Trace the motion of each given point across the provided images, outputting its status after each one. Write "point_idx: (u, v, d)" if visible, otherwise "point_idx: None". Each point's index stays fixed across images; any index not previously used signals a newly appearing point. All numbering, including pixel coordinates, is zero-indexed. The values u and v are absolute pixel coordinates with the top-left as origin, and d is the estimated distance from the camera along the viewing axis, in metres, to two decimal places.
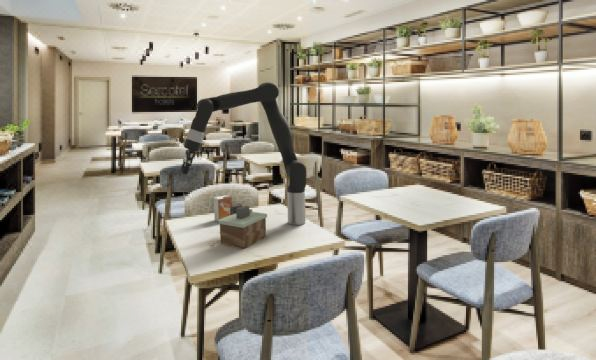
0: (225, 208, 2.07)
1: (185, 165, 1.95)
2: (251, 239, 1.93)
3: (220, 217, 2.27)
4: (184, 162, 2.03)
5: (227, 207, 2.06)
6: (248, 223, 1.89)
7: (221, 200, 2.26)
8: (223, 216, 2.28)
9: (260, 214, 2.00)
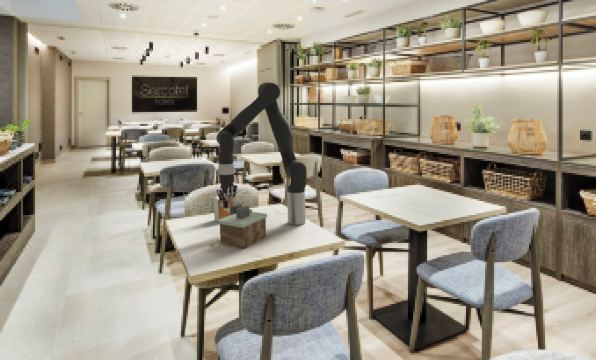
0: (225, 208, 2.07)
1: (222, 200, 2.05)
2: (251, 239, 1.93)
3: (220, 217, 2.27)
4: None
5: None
6: (248, 223, 1.89)
7: (221, 200, 2.26)
8: (223, 216, 2.28)
9: (260, 214, 2.00)
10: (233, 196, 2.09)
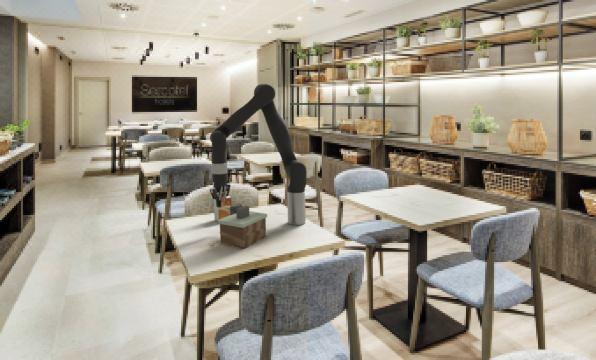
0: (218, 207, 2.09)
1: (216, 199, 2.07)
2: (251, 239, 1.93)
3: (220, 217, 2.27)
4: None
5: None
6: (248, 223, 1.89)
7: None
8: (223, 216, 2.28)
9: (260, 214, 2.00)
10: (226, 195, 2.11)
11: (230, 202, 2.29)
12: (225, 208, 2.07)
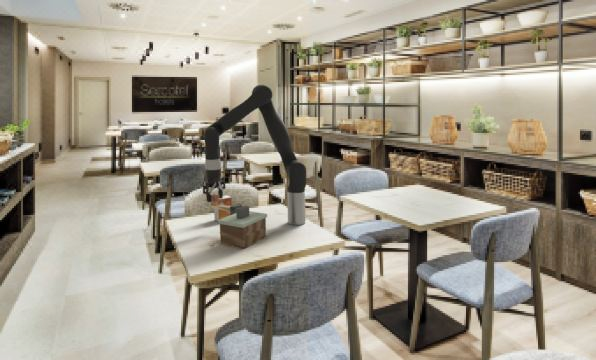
0: (212, 206, 2.11)
1: (206, 194, 2.06)
2: (251, 239, 1.93)
3: (220, 217, 2.27)
4: (219, 189, 2.14)
5: (214, 205, 2.10)
6: (248, 223, 1.89)
7: (221, 200, 2.26)
8: (223, 216, 2.28)
9: (260, 214, 2.00)
10: (223, 188, 2.15)
11: (230, 202, 2.29)
12: (219, 207, 2.09)
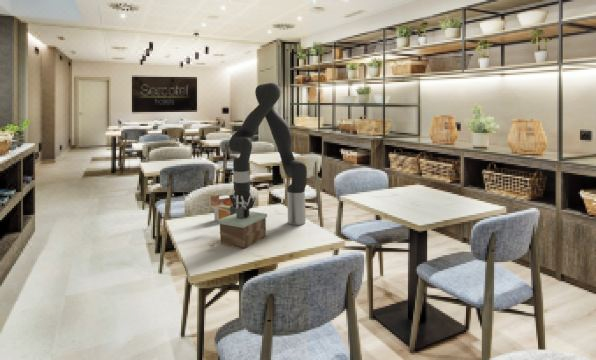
0: (212, 206, 2.11)
1: (245, 209, 1.94)
2: (251, 239, 1.93)
3: (220, 217, 2.27)
4: None
5: (214, 205, 2.10)
6: (248, 223, 1.89)
7: (221, 200, 2.26)
8: (223, 216, 2.28)
9: (260, 214, 2.00)
10: None
11: (230, 202, 2.29)
12: (219, 207, 2.09)
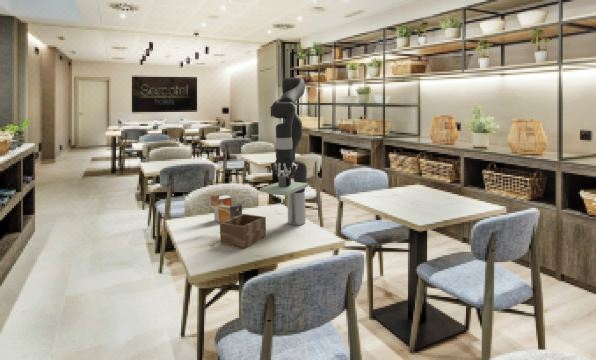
0: (212, 206, 2.11)
1: (288, 177, 1.89)
2: (251, 239, 1.93)
3: (220, 217, 2.27)
4: None
5: (214, 205, 2.10)
6: (292, 191, 1.84)
7: (221, 200, 2.26)
8: (223, 216, 2.28)
9: (301, 183, 1.96)
10: None
11: (230, 202, 2.29)
12: (219, 207, 2.09)
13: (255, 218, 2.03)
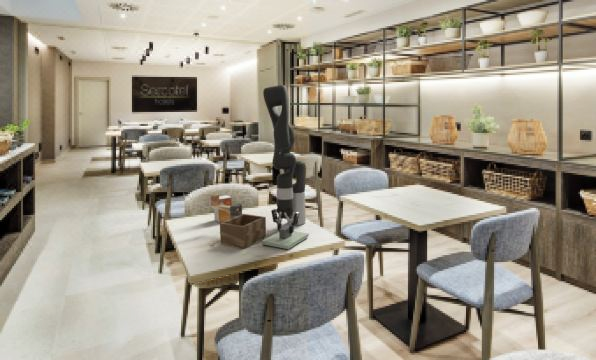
0: (212, 206, 2.11)
1: (291, 226, 1.93)
2: (251, 239, 1.93)
3: (220, 217, 2.27)
4: (279, 223, 1.96)
5: (214, 205, 2.10)
6: (292, 244, 1.88)
7: (221, 200, 2.26)
8: (223, 216, 2.28)
9: (302, 234, 2.00)
10: None
11: (230, 202, 2.29)
12: (219, 207, 2.09)
13: (255, 218, 2.03)
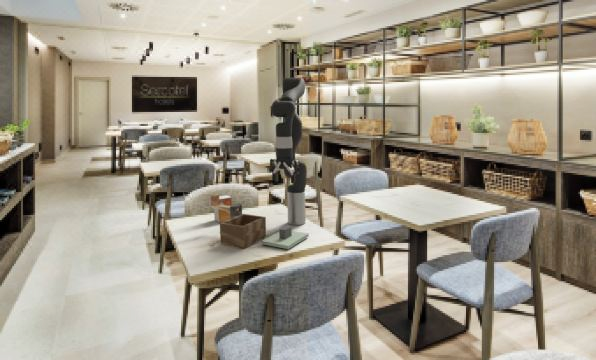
0: (212, 206, 2.11)
1: (293, 174, 1.87)
2: (251, 239, 1.93)
3: (220, 217, 2.27)
4: (276, 172, 1.92)
5: (214, 205, 2.10)
6: (292, 244, 1.89)
7: (221, 200, 2.26)
8: (223, 216, 2.28)
9: (302, 234, 2.00)
10: None
11: (230, 202, 2.29)
12: (219, 207, 2.09)
13: (255, 218, 2.03)
